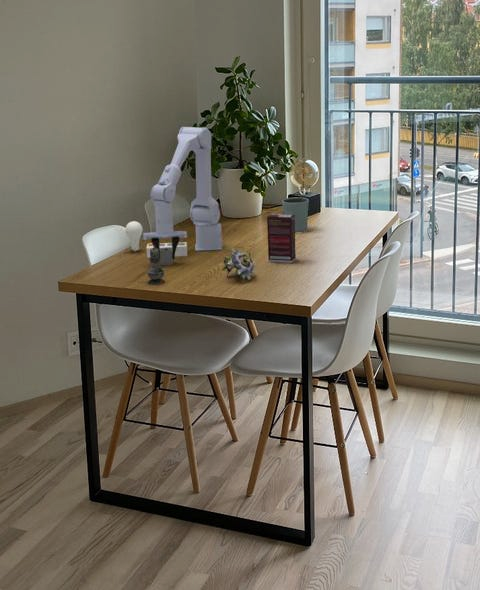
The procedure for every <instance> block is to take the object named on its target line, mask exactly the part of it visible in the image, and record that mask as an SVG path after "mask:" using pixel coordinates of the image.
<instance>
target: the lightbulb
mask: <svg viewBox="0 0 480 590" xmlns="http://www.w3.org/2000/svg"><path fill="white" fill-rule="evenodd" d="M143 228H144V227H143V225H142V224H141V223H140V222H138V221H136V220H135V221H134V220H133V221H129V222H128V223H126V226H125V234H126V235H127V237H128V239H129V242H130V245H131V250H132V251H133V252H137V251H139V249H140V247H139V246H140V240H141V236H142V235H143Z"/></svg>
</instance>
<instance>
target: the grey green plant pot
mask: <svg viewBox="0 0 480 590" xmlns="http://www.w3.org/2000/svg"><path fill="white" fill-rule="evenodd" d="M309 202H310V200H309V198H307V197H300V196H299V197H297V196H296V197H288V198H284V199H282V200H281V204H282V205H281V206H282V212H283V214H294V215H295V234H297V233H296V232H302V233H305V232H304V231H306V230H307V231H308V219H309V215H308V214H309V205H310V203H309ZM307 231H306V232H307Z"/></svg>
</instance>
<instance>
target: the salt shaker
mask: <svg viewBox="0 0 480 590" xmlns="http://www.w3.org/2000/svg"><path fill="white" fill-rule="evenodd" d="M153 247H154V248H152V249H151V250H150V258H148V259H149V263H150V268H149V269H147V270H146V274H147V276H148V278H149V280H148V281H147V283H148V284H149V283H150V284H149V285H160V284H161V285H162V284H164V283H165V282H166V281H165V280H164V279H163V277H164V275H165V272H166V271H165V269H164V268H161V259H160V258H159V249H157V248H155V246H153Z"/></svg>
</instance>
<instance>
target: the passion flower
mask: <svg viewBox="0 0 480 590" xmlns="http://www.w3.org/2000/svg"><path fill="white" fill-rule="evenodd" d="M230 251H231V254H232V255H230V256H225V258H224V259H223V263H224V265H225V266H223V268H222V271H225V270H226V277H227V278H228V277H229V273H230V272H232V270H233V269H235V270H234V273H235V275H236V276H239V277H240V279H242V280H246V281H251V279H252V278H251V274H252V275H255V274H256V271H255V268H256V267H255V266H256V265H255V260H253V257H252V255H251V252H248V253H247V252H246V251H243V252H242V250H241V249H239V250H235V249H234V248H233V247H231V248H230Z"/></svg>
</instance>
